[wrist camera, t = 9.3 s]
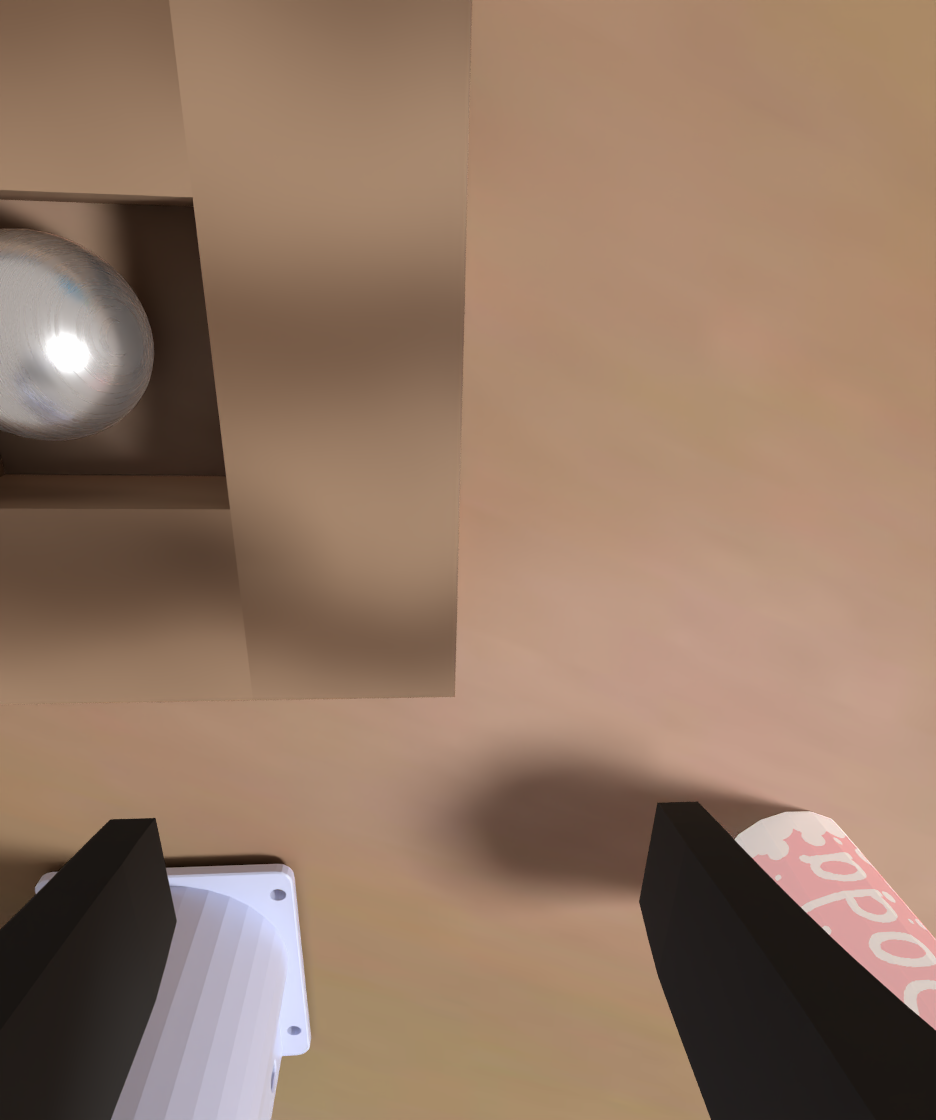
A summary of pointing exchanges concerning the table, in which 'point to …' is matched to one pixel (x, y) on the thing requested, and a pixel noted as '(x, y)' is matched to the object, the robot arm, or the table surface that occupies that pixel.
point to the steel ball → (67, 339)
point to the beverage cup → (848, 902)
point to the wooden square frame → (258, 349)
